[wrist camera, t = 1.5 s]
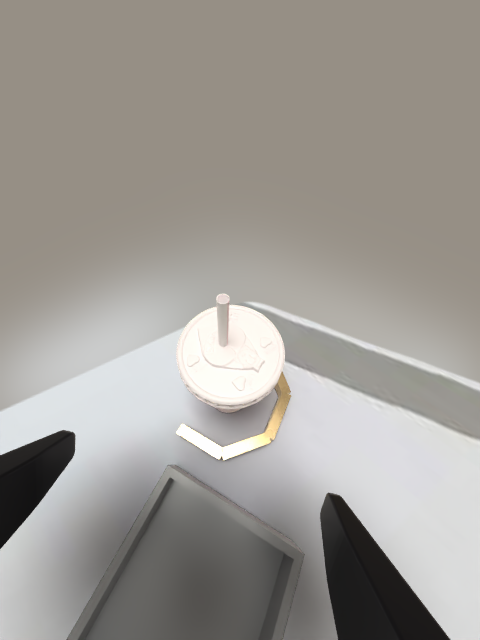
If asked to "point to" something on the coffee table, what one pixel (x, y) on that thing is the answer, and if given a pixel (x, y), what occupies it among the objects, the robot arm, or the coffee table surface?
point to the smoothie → (230, 356)
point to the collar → (249, 443)
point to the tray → (194, 572)
